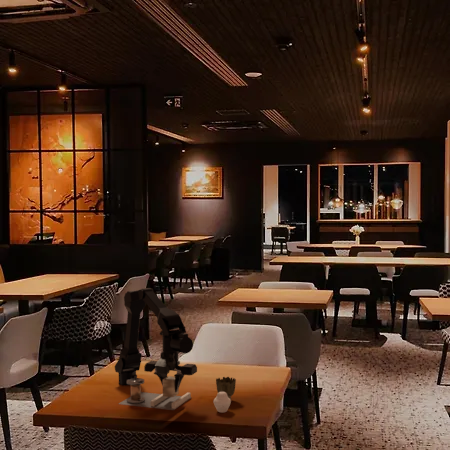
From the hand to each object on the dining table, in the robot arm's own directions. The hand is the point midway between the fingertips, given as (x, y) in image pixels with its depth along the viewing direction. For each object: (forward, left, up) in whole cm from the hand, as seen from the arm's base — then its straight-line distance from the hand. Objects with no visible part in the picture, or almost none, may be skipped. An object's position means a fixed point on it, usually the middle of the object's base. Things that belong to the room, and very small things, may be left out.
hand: (170, 391), depth 233 cm
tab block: (0, 0, -1) cm, 1 cm away
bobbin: (-12, -4, -4) cm, 13 cm away
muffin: (+20, -1, -5) cm, 21 cm away
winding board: (-6, -1, -5) cm, 8 cm away
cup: (+17, +11, -5) cm, 21 cm away
